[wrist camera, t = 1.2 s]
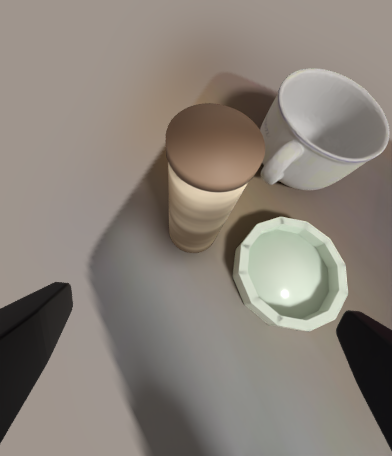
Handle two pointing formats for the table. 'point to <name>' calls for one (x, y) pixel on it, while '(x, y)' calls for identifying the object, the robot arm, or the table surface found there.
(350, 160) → the teacup
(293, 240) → the bowl
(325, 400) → the table surface
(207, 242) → the canister
